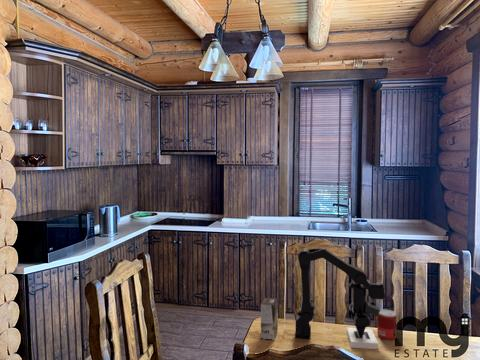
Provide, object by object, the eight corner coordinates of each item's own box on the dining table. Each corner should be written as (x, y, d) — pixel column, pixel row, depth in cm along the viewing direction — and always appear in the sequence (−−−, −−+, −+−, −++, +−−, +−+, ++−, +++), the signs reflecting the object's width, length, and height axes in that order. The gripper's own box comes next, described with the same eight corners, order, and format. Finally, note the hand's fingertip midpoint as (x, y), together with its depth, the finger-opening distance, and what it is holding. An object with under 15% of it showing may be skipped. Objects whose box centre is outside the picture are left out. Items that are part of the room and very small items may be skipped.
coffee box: (274, 341, 157) (274, 305, 157) (260, 339, 159) (260, 304, 158) (278, 332, 166) (277, 298, 165) (264, 330, 167) (264, 297, 167)
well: (351, 347, 150) (351, 341, 150) (346, 332, 164) (346, 327, 164) (378, 349, 149) (378, 343, 148) (371, 334, 162) (371, 328, 162)
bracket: (357, 343, 154) (357, 327, 154) (356, 337, 159) (355, 322, 159) (367, 343, 154) (367, 327, 153) (365, 338, 158) (365, 323, 158)
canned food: (398, 341, 156) (398, 316, 156) (379, 339, 157) (379, 315, 157) (394, 333, 163) (394, 309, 163) (376, 331, 165) (376, 308, 165)
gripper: (383, 306, 146) (383, 344, 146) (373, 291, 164) (373, 324, 164) (355, 305, 147) (355, 342, 148) (349, 290, 166) (349, 323, 166)
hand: (359, 332), depth 156 cm, fingers open, 9 cm apart
